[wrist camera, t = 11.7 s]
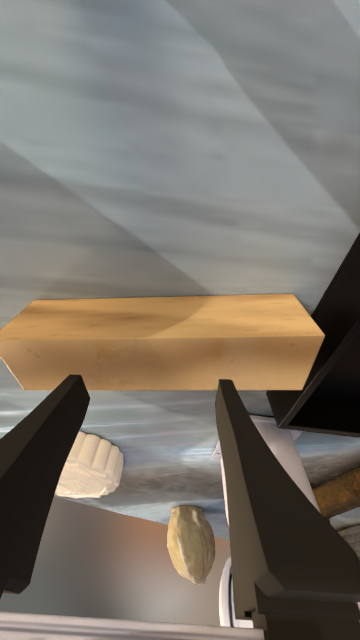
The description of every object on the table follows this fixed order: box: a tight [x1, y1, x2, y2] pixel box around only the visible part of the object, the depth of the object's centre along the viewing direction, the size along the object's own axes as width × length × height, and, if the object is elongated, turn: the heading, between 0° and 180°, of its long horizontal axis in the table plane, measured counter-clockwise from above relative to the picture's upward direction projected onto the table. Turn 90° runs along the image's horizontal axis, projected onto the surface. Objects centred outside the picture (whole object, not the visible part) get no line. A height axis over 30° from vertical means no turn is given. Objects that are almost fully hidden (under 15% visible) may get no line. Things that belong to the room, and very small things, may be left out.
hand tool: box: [311, 467, 360, 523], centre depth 29 cm, size 19×4×5 cm, turn 154°
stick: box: [0, 294, 325, 390], centre depth 15 cm, size 4×18×4 cm, turn 93°
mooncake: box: [55, 431, 124, 498], centre depth 28 cm, size 12×12×4 cm
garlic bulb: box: [167, 506, 215, 586], centre depth 38 cm, size 9×8×10 cm
